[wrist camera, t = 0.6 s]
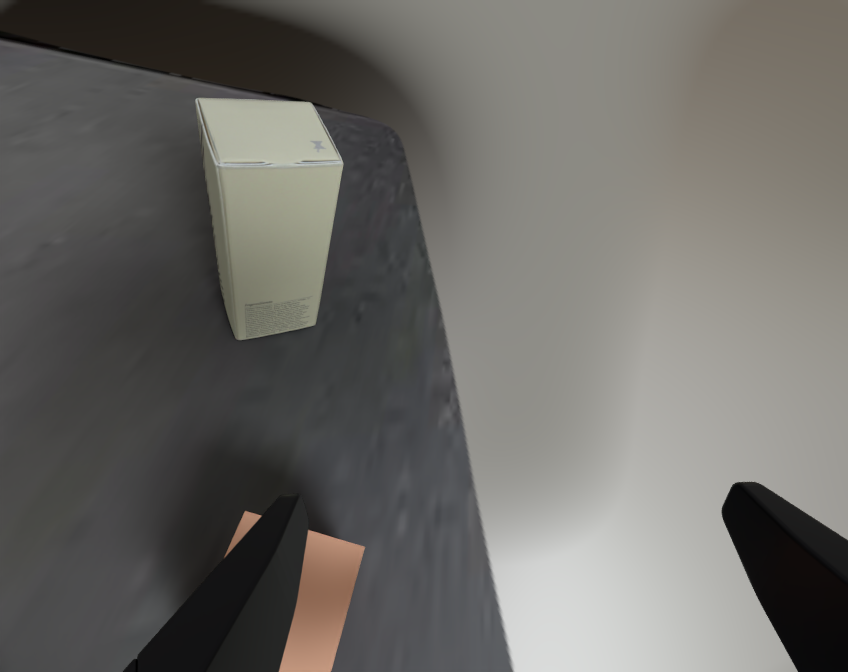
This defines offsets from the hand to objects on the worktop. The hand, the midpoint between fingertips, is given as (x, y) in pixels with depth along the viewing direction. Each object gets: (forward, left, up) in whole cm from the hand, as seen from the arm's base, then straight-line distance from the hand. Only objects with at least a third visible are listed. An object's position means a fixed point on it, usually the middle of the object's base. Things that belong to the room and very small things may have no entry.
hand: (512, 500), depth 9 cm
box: (+13, +10, -16) cm, 23 cm away
